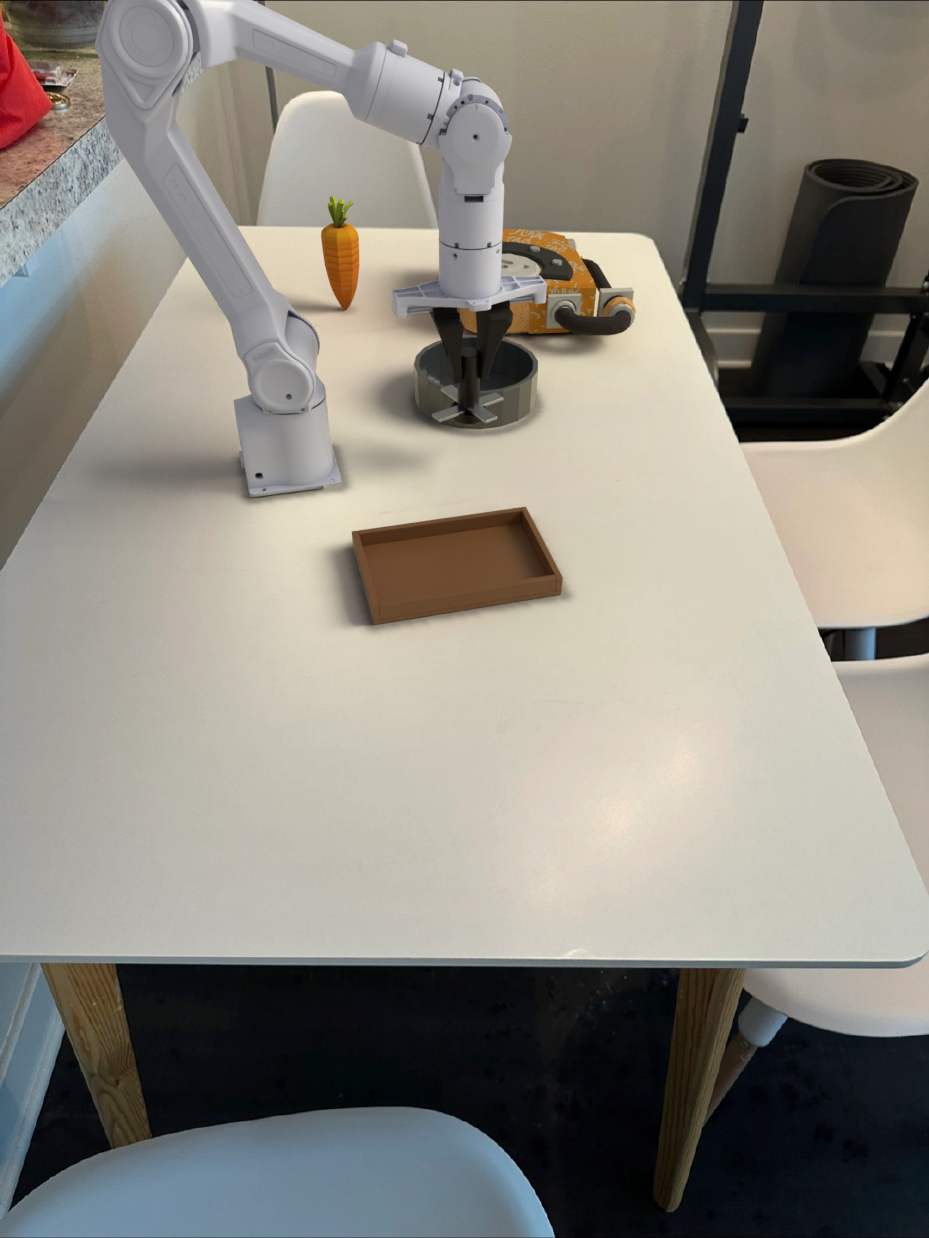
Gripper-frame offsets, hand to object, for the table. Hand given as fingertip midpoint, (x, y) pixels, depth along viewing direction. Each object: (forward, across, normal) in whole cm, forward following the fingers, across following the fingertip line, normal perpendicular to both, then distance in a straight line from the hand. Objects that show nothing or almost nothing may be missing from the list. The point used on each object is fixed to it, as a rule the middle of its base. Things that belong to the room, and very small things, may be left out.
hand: (468, 377), depth 91 cm
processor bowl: (+10, +5, +13) cm, 17 cm away
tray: (+10, -6, -17) cm, 21 cm away
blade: (+4, 0, 0) cm, 4 cm away
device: (+11, +19, +35) cm, 41 cm away
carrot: (+11, -6, +42) cm, 44 cm away
